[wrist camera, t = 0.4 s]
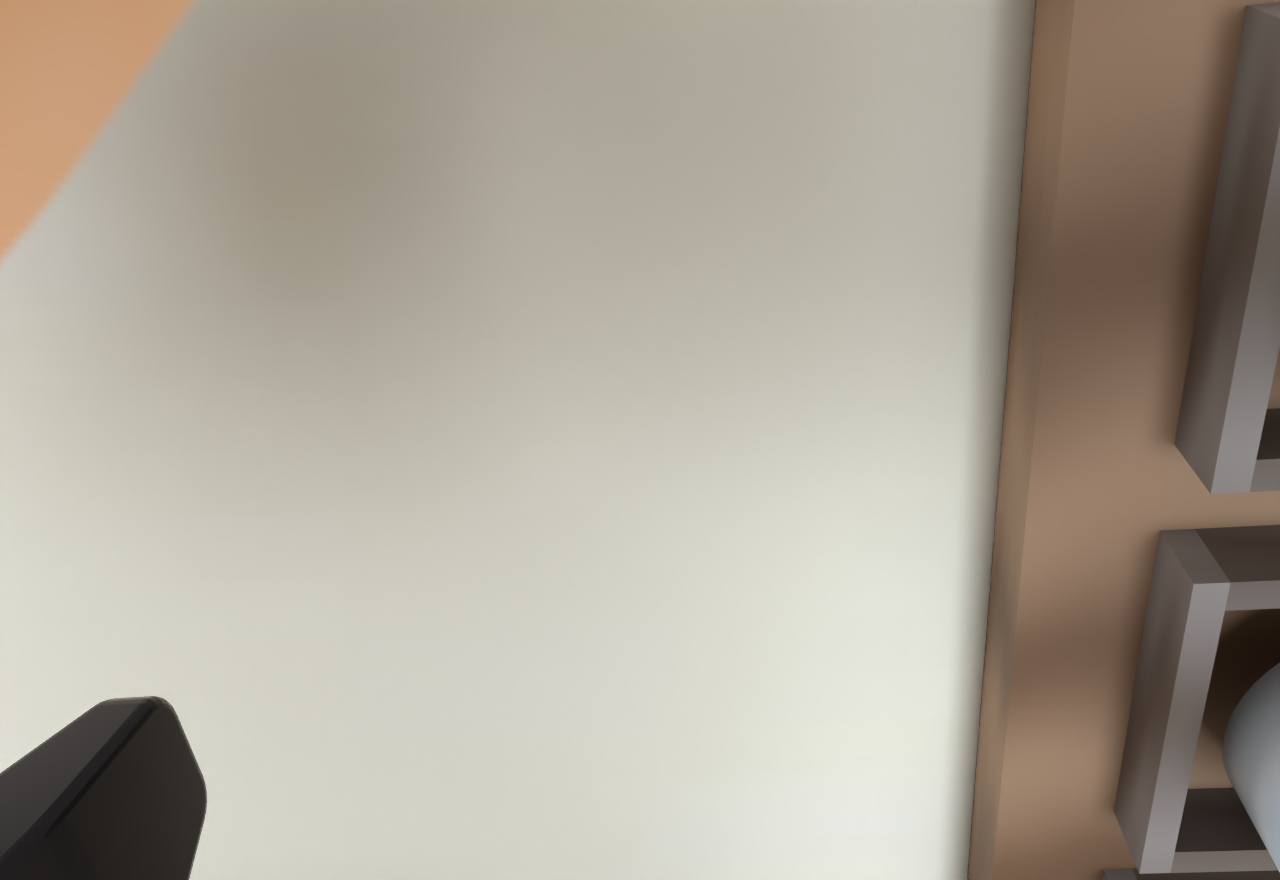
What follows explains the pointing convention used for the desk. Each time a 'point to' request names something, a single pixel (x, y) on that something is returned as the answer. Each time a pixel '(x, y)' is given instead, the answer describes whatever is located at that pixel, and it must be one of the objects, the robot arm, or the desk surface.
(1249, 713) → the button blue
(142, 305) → the desk surface
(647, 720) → the desk surface
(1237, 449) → the button panel
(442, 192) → the desk surface
